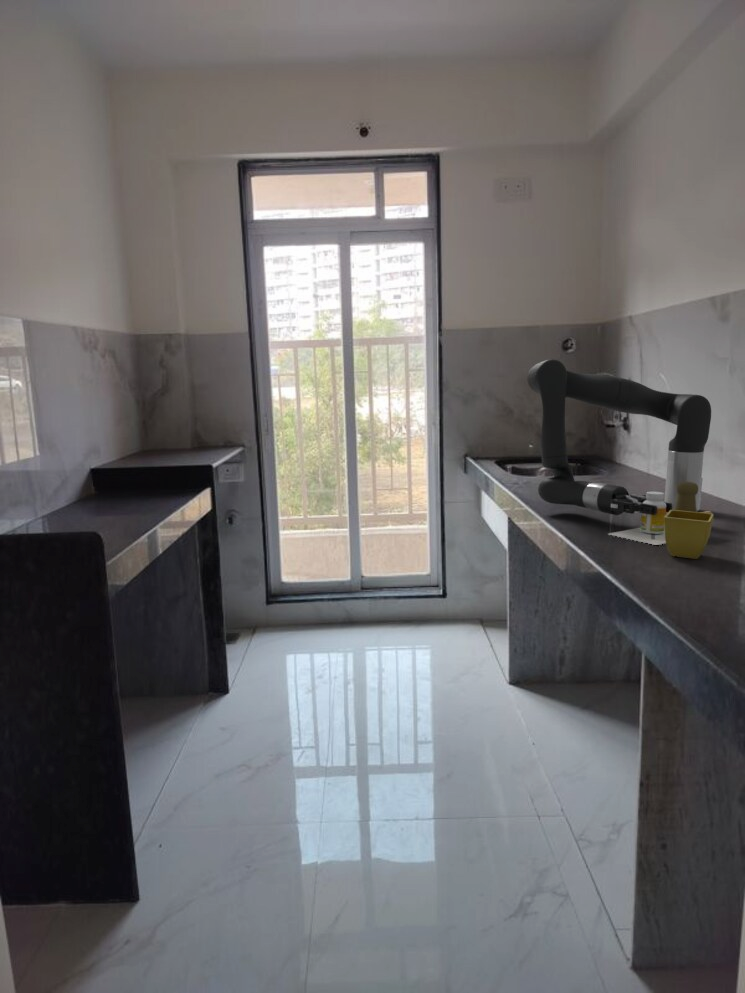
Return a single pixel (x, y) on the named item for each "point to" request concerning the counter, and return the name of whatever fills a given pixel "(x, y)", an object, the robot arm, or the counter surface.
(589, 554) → the counter surface
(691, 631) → the counter surface
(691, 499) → the olive chess pawn
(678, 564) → the counter surface
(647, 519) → the supplement bottle
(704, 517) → the flower pot
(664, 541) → the paper
